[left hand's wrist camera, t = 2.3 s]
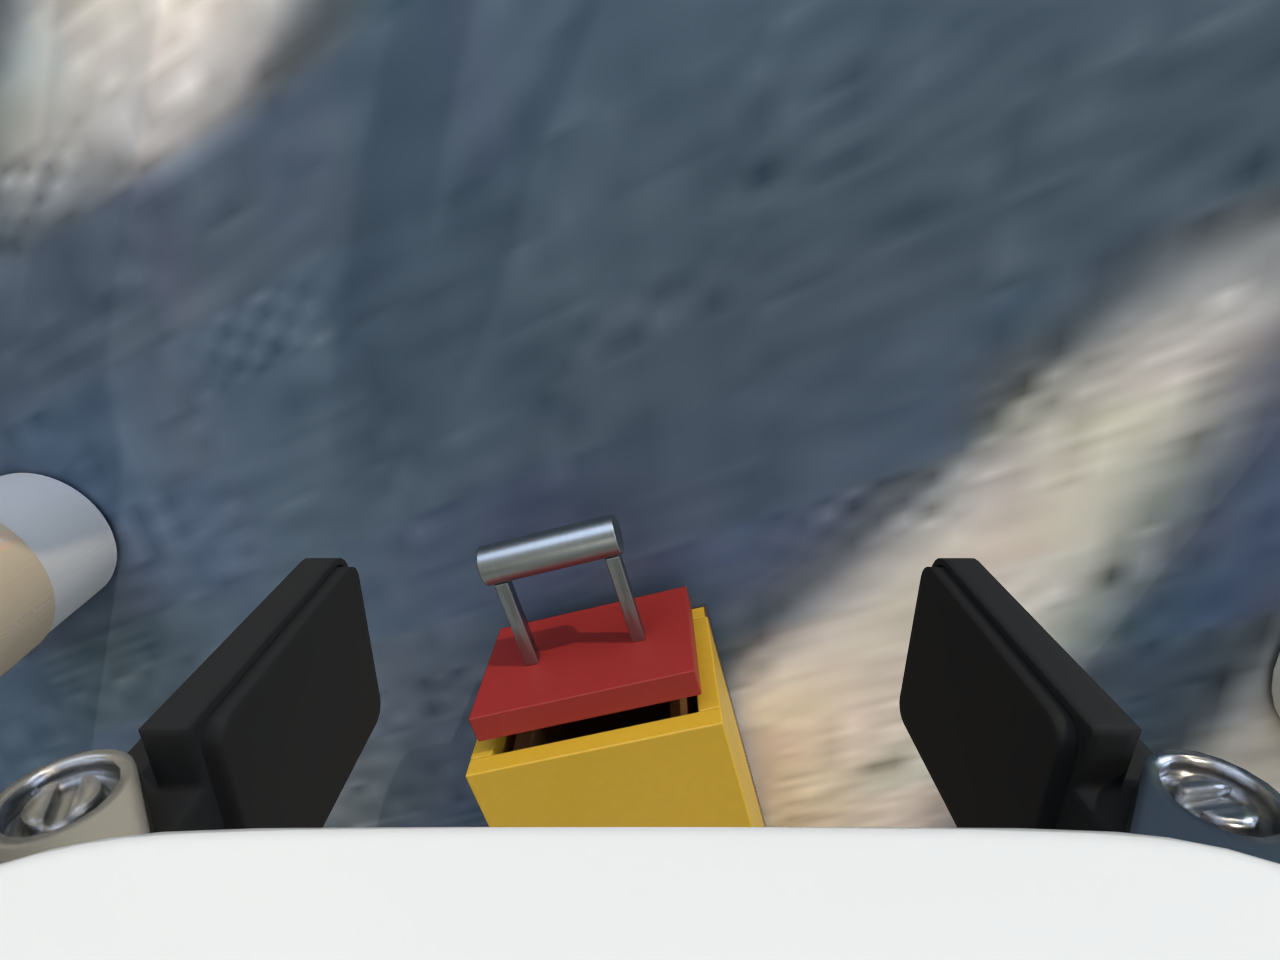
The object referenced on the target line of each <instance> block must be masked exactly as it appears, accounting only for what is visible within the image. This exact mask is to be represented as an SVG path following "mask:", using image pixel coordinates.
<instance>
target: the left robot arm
mask: <svg viewBox="0 0 1280 960" xmlns="http://www.w3.org/2000/svg"><path fill="white" fill-rule="evenodd" d="M1271 690H1272V696H1273V702H1274V707H1275V709H1276V711H1277V713H1278V716H1279V718H1280V652H1279V655H1278V658H1277V661H1276V664H1275V667H1274V670H1273V679H1272V689H1271ZM379 713H380V694H379V689H378V683H377V677H376V672H375V666H374V660H373V654H372V649H371V643H370V637H369V631H368V626H367V620H366V614H365V609H364V603H363V597H362V591H361V586H360V580H359V575H358V572H357V570H356V568H354V567H348V565H347V563H346V562H345V560H343V559H342V558H306V559H304V560H303V561H301V562H300V563H299V564H298V566H297V567H296V568H295V569H294V570H293V571H292V572H291V573H290V574H289V575H288V576H287V577H286V578H285V579H284V580H283V581H282V582H281V583H280V584H279V585H278V586H277V587H276V588H275V589H274V590H273V591H272V592H271V593H270V594H269V595H268V596H267V598H266V599H265V600H264V601H263V602H262V603H261V604H260V605H259V606H258V607H257V608H256V609H255V610H254V611H253V612H252V613H251V614H250V615H249V616H248V617H247V618H246V619H245V620H244V621H243V622H242V623H241V624H240V625H239V626H238V627H237V629H236V630H235V631H234V632H233V633H232V634H231V635H230V636H229V637H228V638H227V639H226V640H225V641H224V642H223V643H222V644H221V645H220V646H219V647H218V648H217V649H216V650H215V651H214V652H213V653H212V654H211V655H210V656H209V657H208V658H207V659H206V661H205V662H204V663H203V664H202V665H201V666H200V667H199V668H198V669H197V670H196V671H195V672H194V673H193V674H192V675H191V676H190V677H189V678H188V679H187V680H186V681H185V682H184V683H183V684H182V685H181V686H180V687H179V688H178V689H177V690H176V691H175V693H174V694H173V695H172V696H171V697H170V698H169V699H168V700H167V701H166V702H165V703H164V704H163V705H162V706H161V707H160V708H159V709H158V710H157V711H156V712H155V713H154V714H153V715H152V716H151V717H150V718H149V719H148V720H147V721H146V722H145V724H144V725H143V726H142V727H141V728H140V729H139V733H140V736H141V739H140V740H139V742H138V743H137V744H136V745H135V746H134V747H133V748H132V749H131V750H130V751H129V752H128V753H124V752H122V751H120V750H109V749H99V750H92V751H85V752H80V753H77V754H73V755H70V756H67V757H64V758H60V759H58V760H55V761H53V762H51V763H49V764H47V765H44V766H42V767H40V768H38V769H35V770H34V771H32V772H30V773H29V774H27V775H25V776H24V777H22V778H21V779H19V780H17V781H16V782H14V783H12V784H11V785H10V786H9V787H8V788H6V789H5V790H4V791H3V792H2V793H0V960H1280V793H1278V792H1277V791H1276V790H1275V789H1274V788H1272V787H1271V786H1270V785H1269V784H1268V783H1266V782H1264V781H1263V780H1261V779H1259V778H1258V777H1256V776H1255V775H1253V774H1251V773H1250V772H1248V771H1246V770H1245V769H1242V768H1240V767H1238V766H1236V765H1233V764H1231V763H1229V762H1227V761H1225V760H1222V759H1220V758H1216V757H1213V756H1210V755H1207V754H1203V753H1200V752H1195V751H1188V750H1181V749H1171V750H1160V751H1158V752H1156V753H1152V752H1151V751H1150V750H1149V749H1148V748H1147V747H1146V746H1145V745H1144V744H1143V743H1142V742H1141V740H1140V739H1139V736H1140V733H1141V729H1140V728H1139V727H1138V726H1137V725H1136V724H1135V722H1134V721H1133V720H1132V719H1131V718H1130V717H1129V716H1128V715H1127V714H1126V713H1125V712H1124V711H1123V710H1122V709H1121V708H1120V707H1119V706H1118V705H1117V704H1116V703H1115V702H1114V701H1113V700H1112V699H1111V698H1110V697H1109V696H1108V695H1107V694H1106V693H1105V692H1104V690H1103V689H1102V688H1101V687H1100V686H1099V685H1098V684H1097V683H1096V682H1095V681H1094V680H1093V679H1092V678H1091V677H1090V676H1089V675H1088V674H1087V673H1086V672H1085V671H1084V670H1083V669H1082V668H1081V667H1080V666H1079V665H1078V664H1077V663H1076V662H1075V661H1074V659H1073V658H1072V657H1071V656H1070V655H1069V654H1068V653H1067V652H1066V651H1065V650H1064V649H1063V648H1062V647H1061V646H1060V645H1059V644H1058V643H1057V642H1056V641H1055V640H1054V639H1053V638H1052V637H1051V636H1050V635H1049V634H1048V633H1047V632H1046V631H1045V630H1044V629H1043V627H1042V626H1041V625H1040V624H1039V623H1038V622H1037V621H1036V620H1035V619H1034V618H1033V617H1032V616H1031V615H1030V614H1029V613H1028V612H1027V611H1026V610H1025V609H1024V608H1023V607H1022V606H1021V605H1020V604H1019V603H1018V602H1017V601H1016V600H1015V599H1014V598H1013V596H1012V595H1011V594H1010V593H1009V592H1008V591H1007V590H1006V589H1005V588H1004V587H1003V586H1002V585H1001V584H1000V583H999V582H998V581H997V580H996V579H995V578H994V577H993V576H992V575H991V574H990V573H989V572H988V571H987V570H986V569H985V568H984V567H983V566H982V564H981V563H980V562H979V561H977V560H976V559H974V558H938V559H937V560H935V562H934V563H933V565H932V567H926V568H924V570H923V572H922V575H921V580H920V586H919V591H918V597H917V603H916V609H915V614H914V620H913V626H912V631H911V637H910V643H909V649H908V654H907V660H906V666H905V672H904V677H903V683H902V689H901V694H900V713H901V717H902V720H903V723H904V725H905V727H906V729H907V731H908V733H909V734H910V736H911V738H912V740H913V742H914V744H915V746H916V748H917V750H918V752H919V754H920V756H921V758H922V760H923V762H924V764H925V765H926V767H927V769H928V771H929V773H930V775H931V777H932V779H933V781H934V783H935V785H936V787H937V789H938V791H939V793H940V795H941V797H942V798H943V800H944V802H945V804H946V806H947V808H948V810H949V812H950V814H951V816H952V818H953V820H954V822H955V824H956V826H957V828H905V827H375V828H323V826H324V824H325V822H326V820H327V818H328V816H329V814H330V812H331V810H332V808H333V806H334V804H335V802H336V800H337V798H338V797H339V795H340V793H341V791H342V789H343V787H344V785H345V783H346V781H347V779H348V777H349V775H350V773H351V771H352V769H353V767H354V765H355V764H356V762H357V760H358V758H359V756H360V754H361V752H362V750H363V748H364V746H365V744H366V742H367V740H368V738H369V736H370V734H371V733H372V731H373V729H374V727H375V725H376V723H377V720H378V717H379Z"/></svg>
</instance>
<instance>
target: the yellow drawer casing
mask: <svg viewBox="0 0 1280 960" xmlns="http://www.w3.org/2000/svg"><path fill="white" fill-rule="evenodd" d="M692 615H693V624H694V633H695V641H696V650H697V659H698V668H699V677H700V685H701V695H697V703H698V712H696V713H692V714H687V715H682V716H677V717H673V718H668V719H663V720H658V721H653V722H649V723H644V724H639V725H634V726H630V727H625V728H620V729H615V730H611V731H606V732H601V733H596V734H592V735H587V736H582V737H577V738H573V739H568V740H563V741H558V742H553V743H549V744H544V745H539V746H534V747H530V748H525V749H520V750H515V751H513V749H514V745H515V741H516V737H517V734H513V735H508V736H504V737H499V738H494V739H489V740H485V741H480V742H479V741H478V740H477V741H476V744H475V747H474V750H473V753H472V757H471V761H470V764H469V767H468V770H467V773H466V779H467V781H468V783H469V785H470V787H471V789H472V791H473V794H474V796H475V798H476V800H477V802H478V804H479V806H480V808H481V811H482V813H483V815H484V817H485V819H486V821H487V823H488V825H489V827H766V825H765V821H764V818H763V814H762V810H761V807H760V803H759V799H758V796H757V792H756V788H755V785H754V781H753V777H752V774H751V770H750V766H749V763H748V759H747V755H746V752H745V748H744V744H743V740H742V737H741V733H740V729H739V726H738V722H737V718H736V715H735V711H734V707H733V704H732V700H731V696H730V693H729V689H728V685H727V682H726V678H725V674H724V671H723V667H722V663H721V660H720V656H719V652H718V649H717V645H716V641H715V638H714V634H713V630H712V627H711V623H710V619H709V616H708V612H707V608H706V606H703V607H700V608H696V609H692Z"/></svg>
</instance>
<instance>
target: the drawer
mask: <svg viewBox="0 0 1280 960" xmlns="http://www.w3.org/2000/svg"><path fill="white" fill-rule="evenodd" d="M623 549H624V548H623V540H622V535H621V531H620V527H619V524H618V521H617V519H616V517H615V515H613V514H611V515H607V516H603V517H599V518H595V519H591V520H587V521H582V522H578V523H574V524H570V525H566V526H562V527H558V528H554V529H550V530H546V531H542V532H537V533H533V534H529V535H525V536H521V537H517V538H513V539H509V540H505V541H501V542H497V543H492V544H488V545H484V546H481V547H479V548H478V549H477V553H476V563H477V569H478V572H479V575H480V577H481V579H482V581H483V582H484V584H486V585H488V586H490V585H494V584H495V589H496V591H497V594H498V596H499V599H500V601H501V604H502V607H503V609H504V612H505V614H506V617H507V619H508V622H509V624H510V627H507V628H502V629H500V632H499V635H498V637H497V640H496V643H495V646H494V649H493V652H492V654H491V657H490V660H489V663H488V666H487V669H486V671H485V674H484V677H483V680H482V683H481V686H480V688H479V691H478V694H477V697H476V700H475V702H474V705H473V708H472V711H471V714H470V717H469V722H470V724H471V726H472V729H473V731H474V733H475V735H476V737H477V740H478V741H479V742H480V741H485V740H489V739H494V738H499V737H504V736H508V735H513V734H517V737H516V741H515V745H514V749H513V751H515V750H520V749H525V748H530V747H534V746H539V745H544V744H549V743H553V742H558V741H563V740H568V739H573V738H577V737H582V736H587V735H592V734H596V733H601V732H606V731H611V730H615V729H620V728H625V727H630V726H634V725H639V724H644V723H649V722H653V721H658V720H663V719H668V718H673V717H677V716H682V715H687V714H692V713H696V712H698V703H697V695H701V685H700V677H699V668H698V659H697V650H696V641H695V633H694V624H693V615H692V606H691V603H690V599H689V596H688V592H687V589H686V587H680V588H676V589H672V590H667V591H663V592H659V593H654V594H650V595H646V596H641V597H637V598H635V597H634V594H633V591H632V588H631V585H630V582H629V578H628V575H627V572H626V569H625V566H624V563H623V559H622V556H621V554H622V553H623ZM603 558H606V559H605V560H606V564H607V567H608V570H609V573H610V576H611V579H612V582H613V585H614V588H615V591H616V594H617V597H618V600H619V602H615V603H611V604H607V605H602V606H598V607H593V608H589V609H585V610H580V611H576V612H572V613H567V614H563V615H559V616H554V617H550V618H546V619H541V620H537V621H533V622H527V620H526V617H525V615H524V612H523V609H522V607H521V604H520V602H519V599H518V596H517V594H516V591H515V589H514V586H513V583H512V581H511V580H515V579H519V578H523V577H528V576H532V575H536V574H540V573H544V572H549V571H553V570H557V569H561V568H565V567H570V566H574V565H578V564H582V563H587V562H591V561H595V560H599V559H603Z"/></svg>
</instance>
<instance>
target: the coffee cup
mask: <svg viewBox="0 0 1280 960" xmlns="http://www.w3.org/2000/svg"><path fill="white" fill-rule="evenodd" d="M116 562H117V548H116V543H115V539H114V536H113V533H112V531H111V529H110V526H109V525H108V523H107V521H106V520H105V518H104V517H103V515H102V514H101V513H100V511H99V510H98V509H97V508H96V507H95V506H94V505H93V504H92V503H91V502H90V501H89V500H88V499H87V498H86V497H85V496H83V495H82V494H81V493H79V492H78V491H77V490H75V489H73V488H72V487H70V486H68V485H67V484H65V483H63V482H60V481H58V480H56V479H53V478H50V477H47V476H43V475H39V474H32V473H13V474H7V475H3V476H0V677H1V676H2V675H3V674H4V673H6V672H7V671H8V670H9V669H10V668H11V667H13V666H14V665H15V664H16V663H17V662H19V661H20V660H21V659H22V658H23V657H24V656H26V655H27V654H28V653H29V652H30V651H31V650H33V649H34V648H35V647H36V646H37V645H38V644H39V643H41V642H42V641H43V639H44V638H45V637H46V636H47V634H48V633H49V632H50V631H51V630H53V629H54V628H55V627H56V626H57V625H59V624H60V623H61V622H62V621H63V620H65V619H66V618H67V617H68V616H69V615H71V614H72V613H73V612H74V611H75V610H77V609H78V608H79V607H80V606H82V605H83V604H84V603H85V602H86V601H88V600H89V599H90V598H91V597H92V596H94V595H95V594H96V593H97V592H98V591H100V590H101V589H102V588H103V587H104V586H105V585H106V584H107V583H108V582H109V580H110V579H111V577H112V575H113V573H114V570H115V567H116Z"/></svg>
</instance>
